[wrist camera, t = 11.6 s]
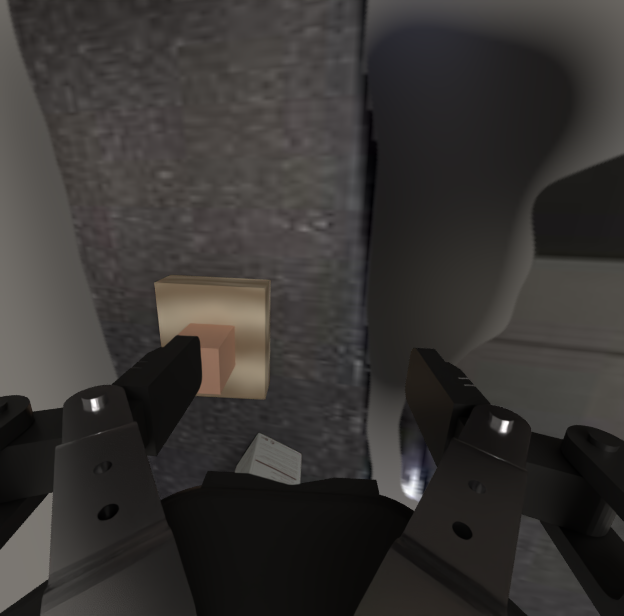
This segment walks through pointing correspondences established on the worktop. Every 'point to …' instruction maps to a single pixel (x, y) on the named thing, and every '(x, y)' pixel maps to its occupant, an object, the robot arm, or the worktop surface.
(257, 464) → the supplement box
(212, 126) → the worktop surface
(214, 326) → the terracotta block
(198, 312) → the birch base
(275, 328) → the worktop surface
